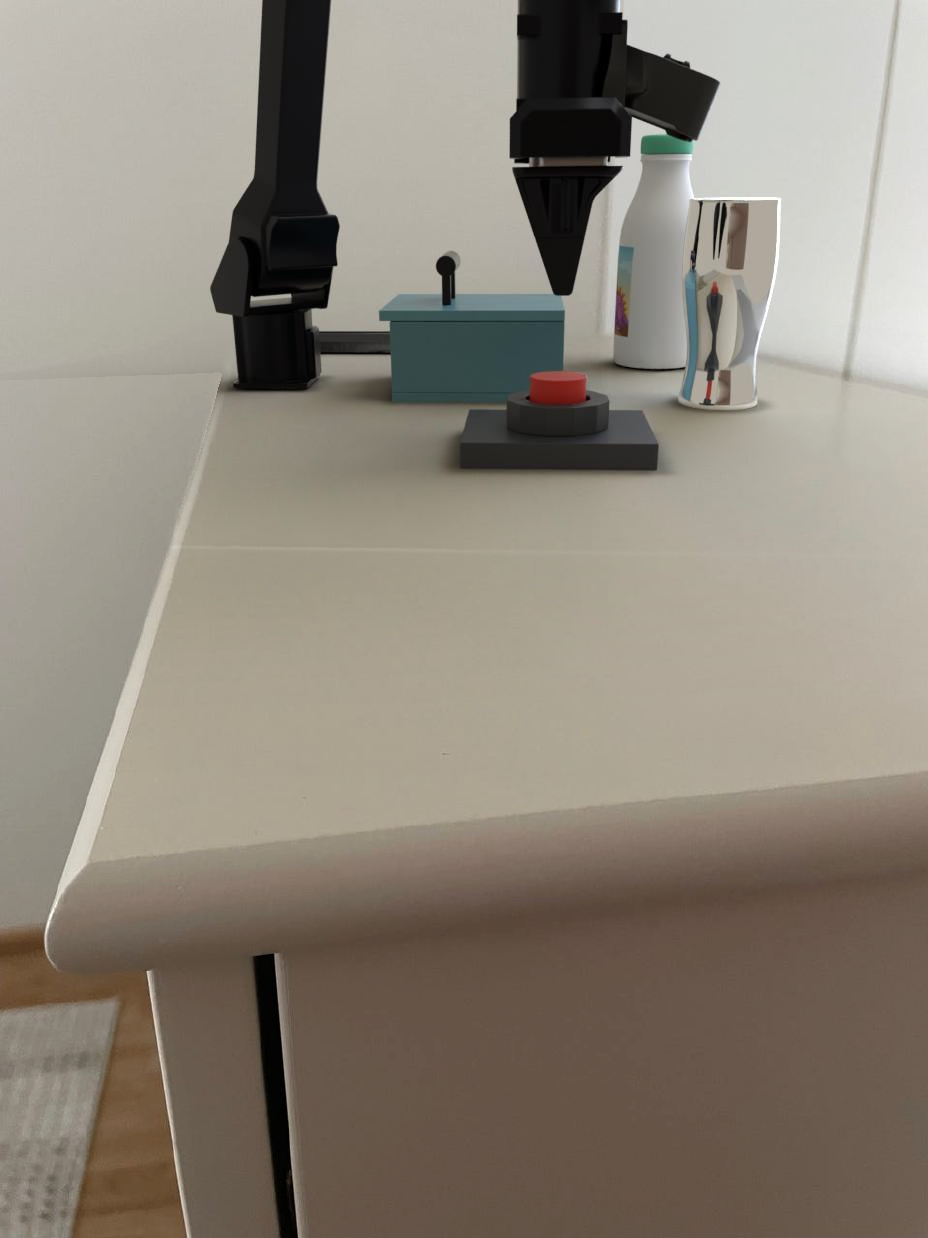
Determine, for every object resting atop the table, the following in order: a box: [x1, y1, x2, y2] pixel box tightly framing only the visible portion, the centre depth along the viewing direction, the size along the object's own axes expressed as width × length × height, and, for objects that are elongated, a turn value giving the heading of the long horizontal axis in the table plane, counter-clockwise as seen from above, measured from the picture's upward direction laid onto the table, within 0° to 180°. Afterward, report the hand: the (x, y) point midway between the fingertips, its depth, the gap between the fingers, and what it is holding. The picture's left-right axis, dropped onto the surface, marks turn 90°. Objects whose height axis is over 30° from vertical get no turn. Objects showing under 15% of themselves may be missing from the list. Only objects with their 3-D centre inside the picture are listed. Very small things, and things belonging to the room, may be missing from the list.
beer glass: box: [677, 197, 782, 411], centre depth 79 cm, size 7×7×15 cm
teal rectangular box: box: [389, 321, 566, 403], centre depth 87 cm, size 14×13×6 cm
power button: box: [530, 370, 588, 404], centre depth 66 cm, size 4×4×2 cm
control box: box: [459, 389, 660, 471], centre depth 67 cm, size 12×10×4 cm
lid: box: [378, 250, 566, 322], centre depth 85 cm, size 14×13×5 cm
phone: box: [319, 330, 391, 353], centre depth 110 cm, size 8×1×15 cm
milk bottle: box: [613, 133, 695, 370], centre depth 96 cm, size 8×8×20 cm
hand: (561, 290), depth 64 cm, fingers open, 6 cm apart
